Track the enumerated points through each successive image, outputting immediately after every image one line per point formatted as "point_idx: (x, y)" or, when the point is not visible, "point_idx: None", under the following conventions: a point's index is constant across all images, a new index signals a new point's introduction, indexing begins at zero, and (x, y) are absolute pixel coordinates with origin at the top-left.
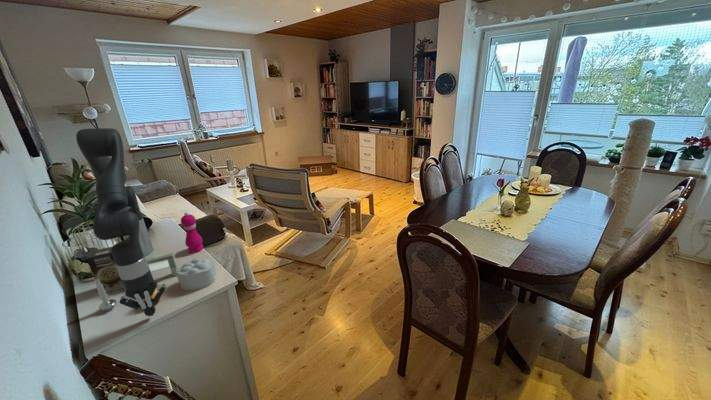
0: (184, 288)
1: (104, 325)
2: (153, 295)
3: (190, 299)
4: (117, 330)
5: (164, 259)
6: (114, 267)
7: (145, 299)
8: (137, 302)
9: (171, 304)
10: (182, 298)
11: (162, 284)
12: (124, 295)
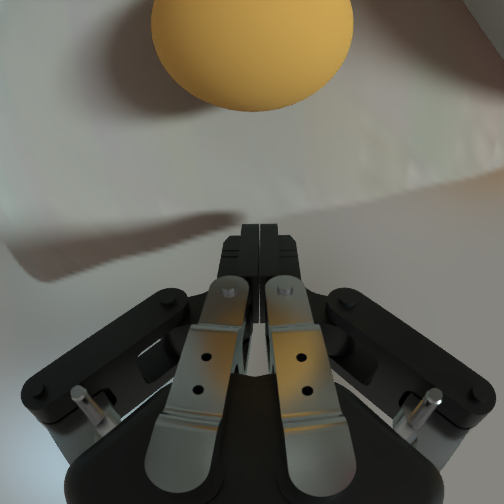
0: (477, 13)
1: (4, 158)
2: (287, 97)
3: (483, 163)
4: (82, 232)
5: None
6: None
7: (197, 97)
8: (170, 328)
9: (382, 136)
10: (451, 113)
11: (481, 413)
12: (67, 456)
